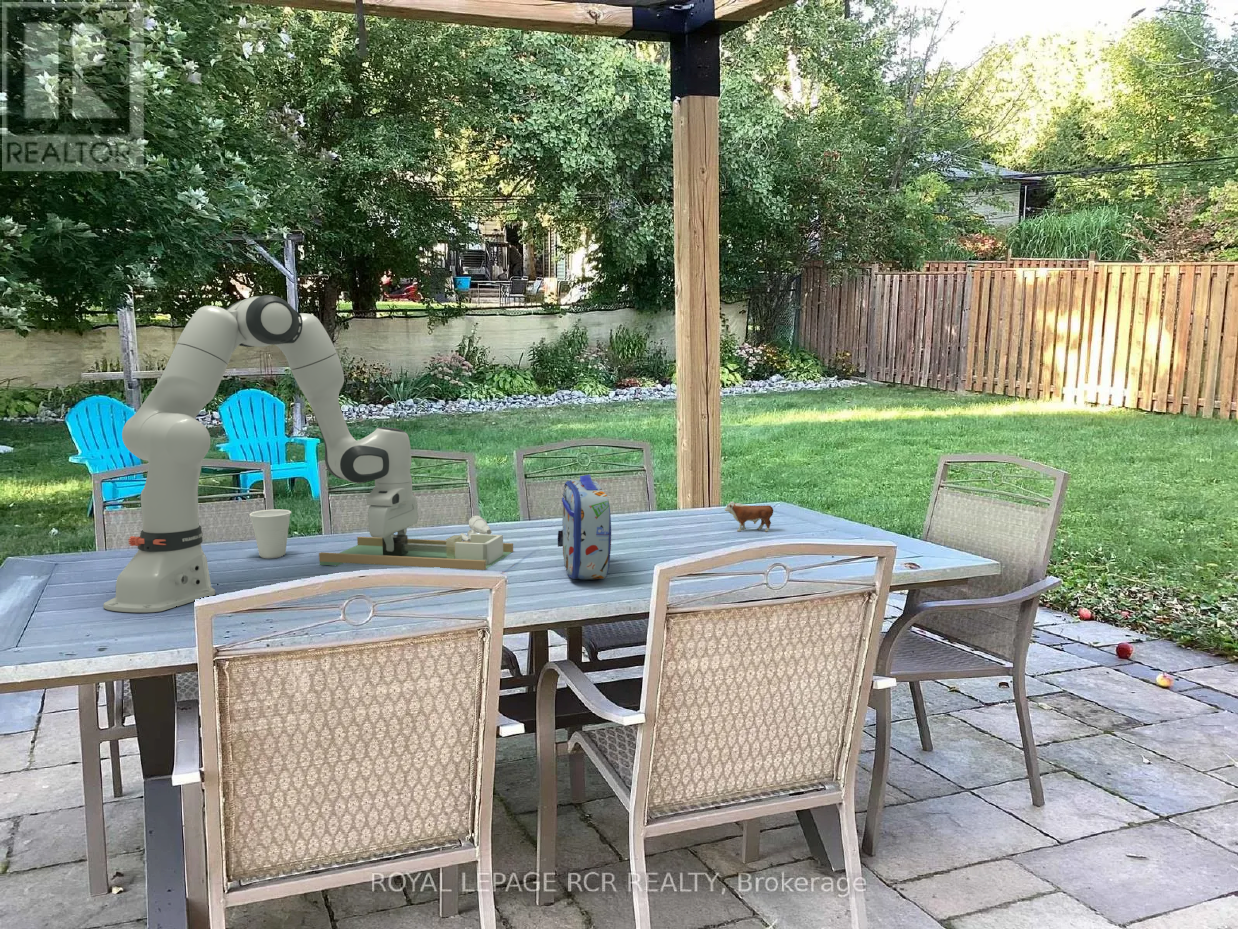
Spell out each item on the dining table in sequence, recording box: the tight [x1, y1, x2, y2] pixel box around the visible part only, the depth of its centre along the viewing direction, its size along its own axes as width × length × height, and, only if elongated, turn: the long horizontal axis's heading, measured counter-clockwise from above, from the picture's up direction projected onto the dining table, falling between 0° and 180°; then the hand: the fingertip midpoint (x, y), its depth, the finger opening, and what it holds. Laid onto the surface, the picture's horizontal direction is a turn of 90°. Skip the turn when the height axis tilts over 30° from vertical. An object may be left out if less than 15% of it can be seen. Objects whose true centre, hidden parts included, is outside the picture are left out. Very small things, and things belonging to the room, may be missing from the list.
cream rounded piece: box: [459, 515, 493, 542], centre depth 264 cm, size 8×14×5 cm
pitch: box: [318, 536, 514, 571], centre depth 245 cm, size 20×42×3 cm, turn 77°
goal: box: [455, 533, 504, 565], centre depth 242 cm, size 11×8×5 cm
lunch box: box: [557, 474, 612, 580], centre depth 231 cm, size 28×10×22 cm, turn 9°
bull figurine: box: [724, 501, 774, 533], centre depth 279 cm, size 4×13×8 cm, turn 82°
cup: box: [248, 508, 292, 559], centre depth 251 cm, size 10×10×11 cm
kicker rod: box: [382, 534, 463, 559], centre depth 245 cm, size 5×19×5 cm, turn 77°
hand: (395, 548), depth 247 cm, fingers open, 4 cm apart
